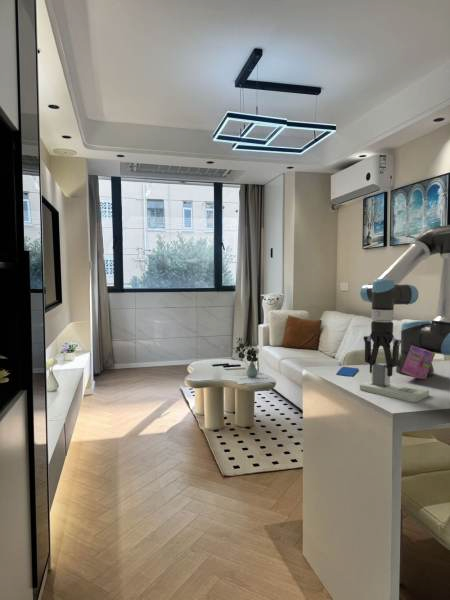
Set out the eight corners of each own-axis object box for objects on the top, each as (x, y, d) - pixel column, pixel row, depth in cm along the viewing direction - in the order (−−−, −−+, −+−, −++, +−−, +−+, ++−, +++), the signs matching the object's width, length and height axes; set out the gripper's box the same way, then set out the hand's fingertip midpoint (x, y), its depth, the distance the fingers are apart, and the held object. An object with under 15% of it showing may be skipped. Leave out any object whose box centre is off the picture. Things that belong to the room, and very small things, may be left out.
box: (414, 377, 155) (424, 349, 155) (400, 372, 160) (410, 344, 159) (425, 380, 161) (435, 353, 161) (412, 374, 166) (422, 348, 165)
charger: (377, 383, 149) (378, 362, 148) (388, 385, 146) (388, 364, 145) (372, 385, 146) (373, 364, 146) (383, 387, 143) (383, 365, 143)
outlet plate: (375, 384, 154) (375, 378, 154) (429, 395, 139) (429, 389, 139) (359, 389, 146) (359, 384, 146) (415, 402, 131) (415, 396, 131)
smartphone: (335, 374, 169) (342, 366, 182) (335, 376, 169) (342, 368, 182) (353, 376, 165) (358, 368, 179) (353, 378, 166) (358, 370, 179)
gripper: (355, 319, 149) (354, 380, 150) (401, 323, 136) (399, 390, 137) (365, 318, 154) (363, 377, 155) (410, 322, 141) (408, 386, 142)
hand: (380, 383), depth 146 cm, fingers open, 4 cm apart
